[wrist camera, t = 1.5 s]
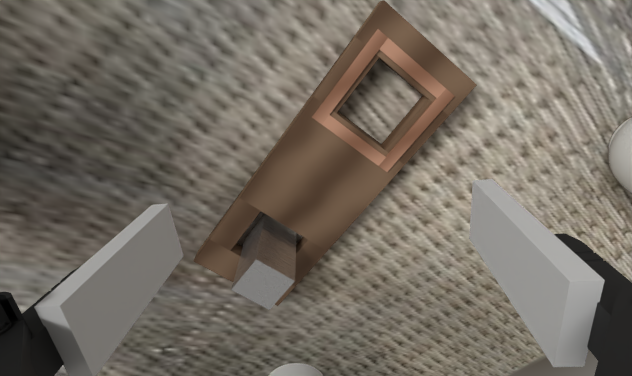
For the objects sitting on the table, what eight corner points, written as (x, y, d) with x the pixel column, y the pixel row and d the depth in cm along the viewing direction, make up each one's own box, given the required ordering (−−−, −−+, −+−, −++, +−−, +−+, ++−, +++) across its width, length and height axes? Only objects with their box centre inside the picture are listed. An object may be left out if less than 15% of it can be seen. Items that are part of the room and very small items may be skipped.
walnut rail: (197, 251, 44) (192, 262, 42) (379, 1, 33) (384, 0, 31) (278, 294, 47) (277, 306, 45) (467, 81, 36) (477, 85, 34)
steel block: (244, 239, 43) (231, 289, 35) (265, 213, 42) (256, 259, 34) (275, 257, 44) (269, 309, 36) (296, 232, 43) (295, 281, 35)
